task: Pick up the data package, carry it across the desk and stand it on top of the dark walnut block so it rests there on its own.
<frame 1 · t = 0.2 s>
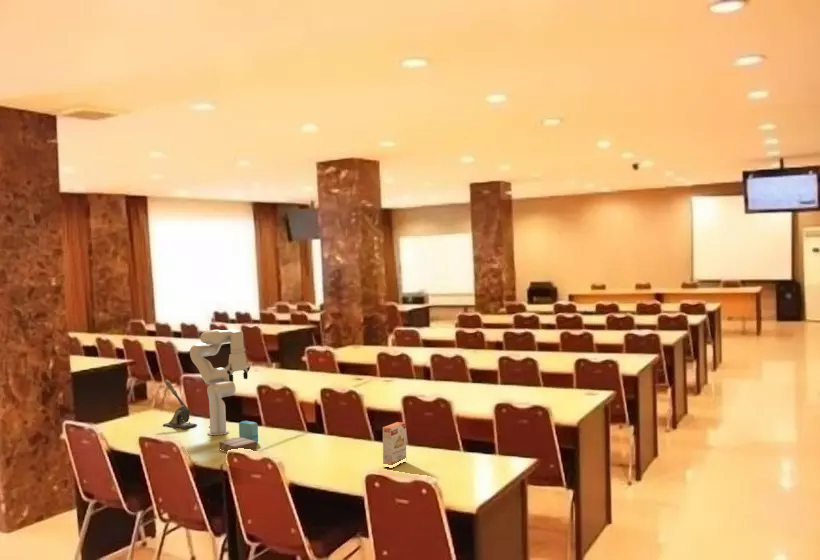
hand: (238, 380, 427), 36 cm above the table, tool pointing down, fingers open, 9 cm apart
embossing press: (179, 426, 468), on the table
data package: (248, 442, 422), on the table
walnut block: (238, 450, 407), on the table
cracker box: (395, 465, 369), on the table
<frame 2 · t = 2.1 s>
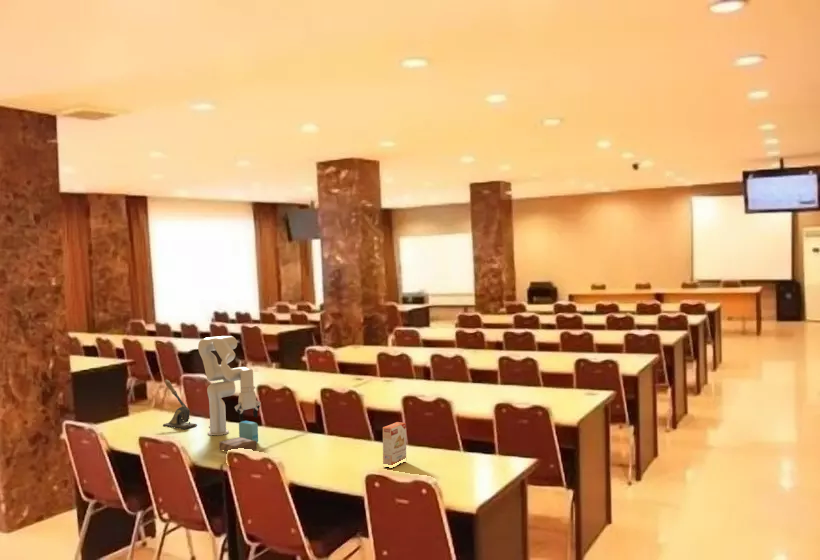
hand: (248, 418, 421), 14 cm above the table, tool pointing down, fingers open, 9 cm apart
nothing on the table moved.
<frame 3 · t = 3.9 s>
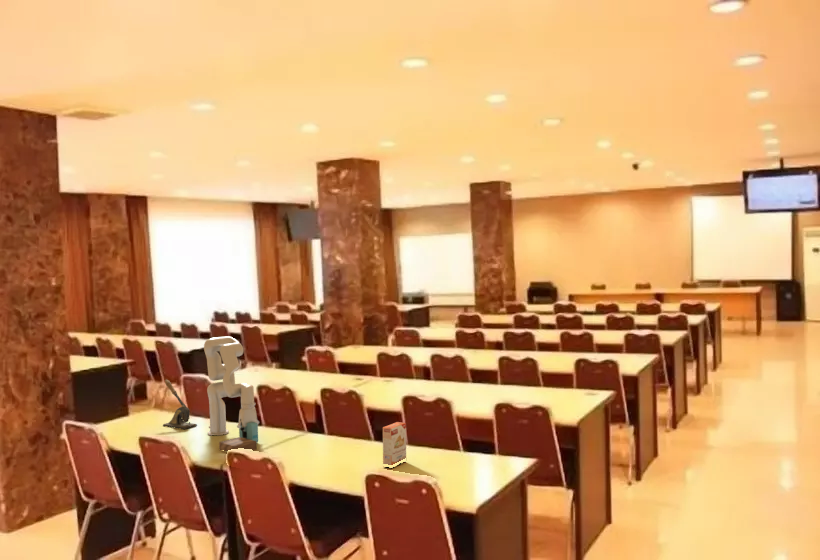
hand: (248, 436, 422), 3 cm above the table, tool pointing down, fingers closed on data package, 4 cm apart
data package: (248, 442, 422), on the table, touching gripper
everything else where it was.
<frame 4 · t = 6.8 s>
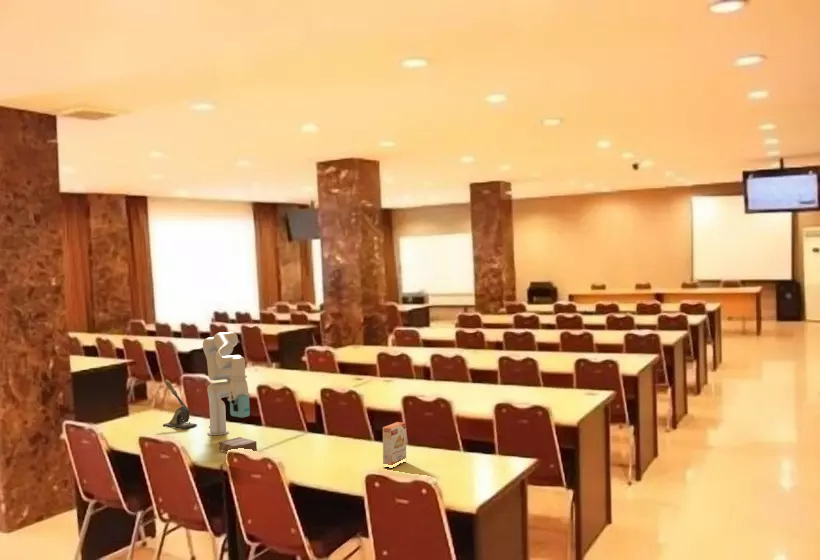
hand: (239, 410, 410), 22 cm above the table, tool pointing down, fingers closed on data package, 4 cm apart
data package: (240, 416, 410), point 18 cm above the table, touching gripper
everything else where it was.
when the fingers open (10 cm above the table, at t = 10.1 s): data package drops 2 cm, resting on walnut block.
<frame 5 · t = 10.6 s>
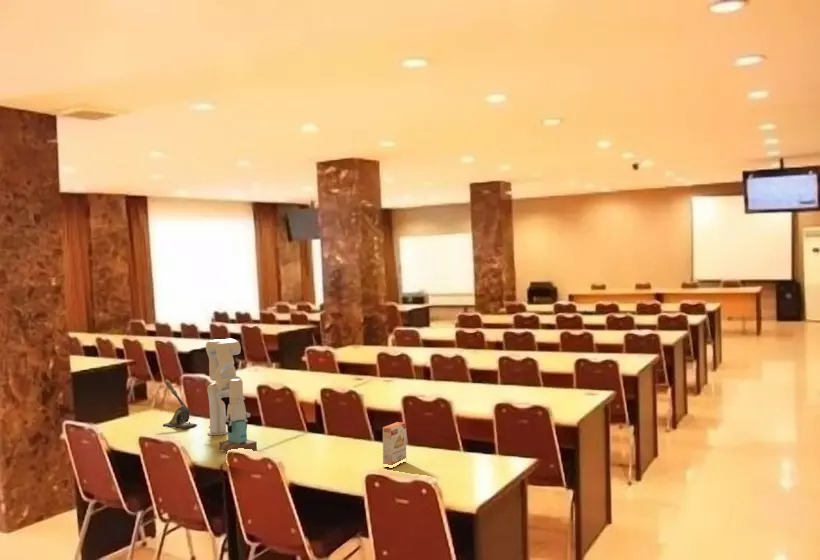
hand: (237, 430, 406), 11 cm above the table, tool pointing down, fingers open, 9 cm apart
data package: (237, 442, 406), point 4 cm above the table, touching walnut block
walnut block: (238, 450, 407), on the table, touching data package
everything else where it was.
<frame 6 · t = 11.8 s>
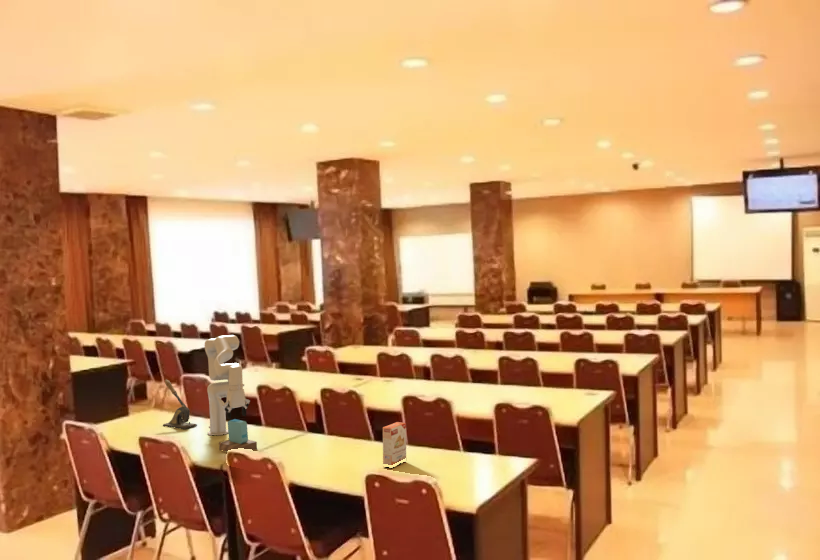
hand: (236, 417, 406), 18 cm above the table, tool pointing down, fingers open, 9 cm apart
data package: (238, 442, 407), point 4 cm above the table
walnut block: (238, 450, 407), on the table
everything else where it was.
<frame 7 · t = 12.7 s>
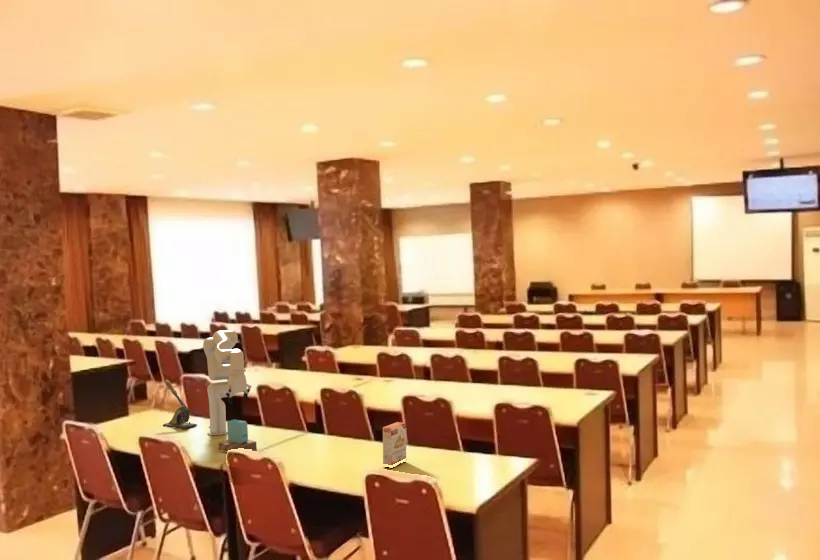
hand: (238, 402, 408), 26 cm above the table, tool pointing down, fingers open, 9 cm apart
nothing on the table moved.
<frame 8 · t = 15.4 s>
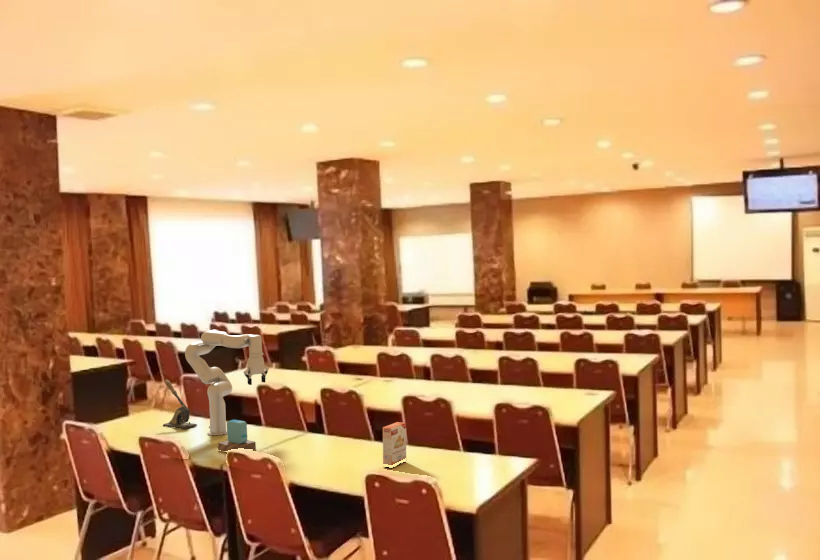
hand: (256, 383, 435), 32 cm above the table, tool pointing down, fingers open, 9 cm apart
nothing on the table moved.
at the end: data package inside the target area on the walnut block (0.4 cm from its centre), point 4.9 cm above the walnut block's base; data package touching nothing; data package tilted 0° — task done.
